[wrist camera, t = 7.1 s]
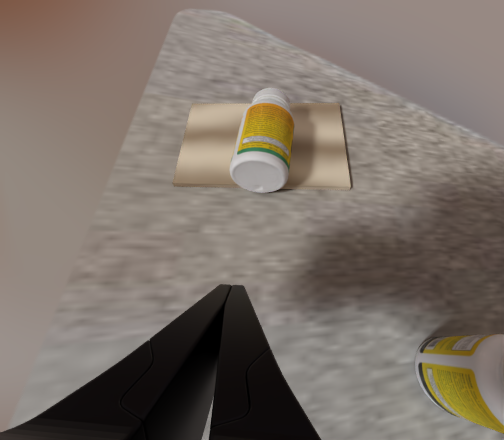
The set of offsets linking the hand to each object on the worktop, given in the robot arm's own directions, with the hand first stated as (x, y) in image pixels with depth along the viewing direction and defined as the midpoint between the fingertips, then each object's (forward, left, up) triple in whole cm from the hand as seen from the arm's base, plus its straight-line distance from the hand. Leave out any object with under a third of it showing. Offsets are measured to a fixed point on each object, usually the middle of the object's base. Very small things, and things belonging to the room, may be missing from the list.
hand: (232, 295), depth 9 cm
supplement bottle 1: (+11, +1, -9) cm, 15 cm away
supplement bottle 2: (-2, -14, -13) cm, 19 cm away
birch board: (+19, +1, -12) cm, 22 cm away
